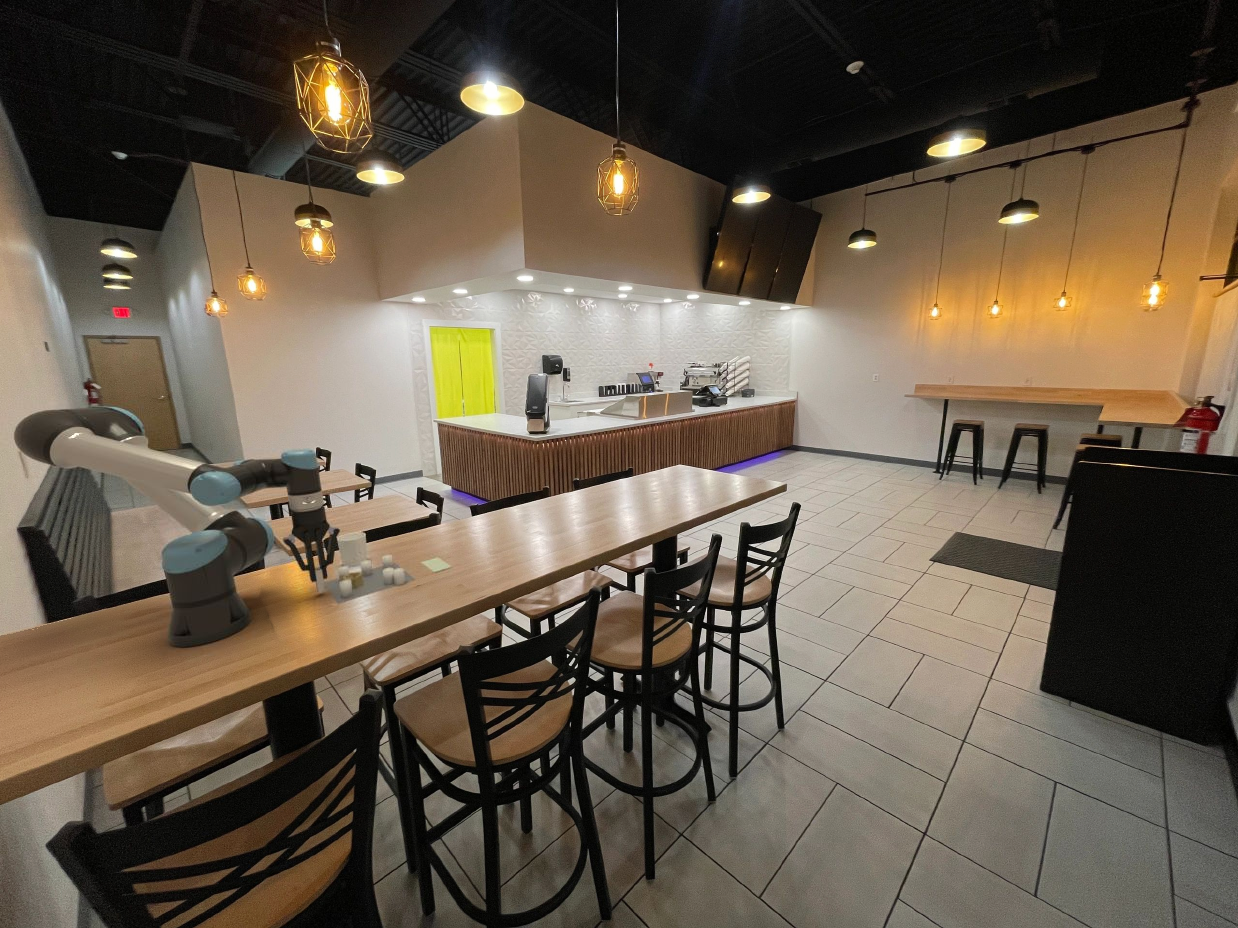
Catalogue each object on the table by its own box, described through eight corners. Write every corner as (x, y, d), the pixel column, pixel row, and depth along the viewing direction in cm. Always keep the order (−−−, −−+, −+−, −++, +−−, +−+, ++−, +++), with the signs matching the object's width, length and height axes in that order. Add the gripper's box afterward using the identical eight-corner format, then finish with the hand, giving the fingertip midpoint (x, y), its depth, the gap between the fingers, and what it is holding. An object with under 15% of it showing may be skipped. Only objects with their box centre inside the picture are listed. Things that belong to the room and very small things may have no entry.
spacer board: (338, 608, 123) (336, 589, 122) (323, 586, 136) (320, 569, 135) (416, 583, 136) (414, 567, 135) (395, 566, 150) (393, 550, 149)
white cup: (348, 572, 146) (343, 542, 144) (337, 567, 150) (332, 537, 148) (373, 564, 152) (370, 534, 150) (362, 559, 156) (358, 530, 154)
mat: (412, 579, 139) (412, 578, 139) (400, 568, 147) (399, 568, 147) (451, 567, 147) (451, 566, 147) (437, 558, 155) (437, 557, 155)
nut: (347, 590, 130) (346, 580, 130) (342, 585, 134) (341, 575, 133) (364, 585, 133) (363, 575, 133) (359, 580, 137) (358, 570, 136)
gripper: (279, 516, 117) (295, 603, 121) (339, 505, 125) (351, 587, 130) (275, 510, 122) (290, 594, 127) (332, 500, 131) (344, 579, 135)
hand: (321, 590), depth 128 cm, fingers closed
